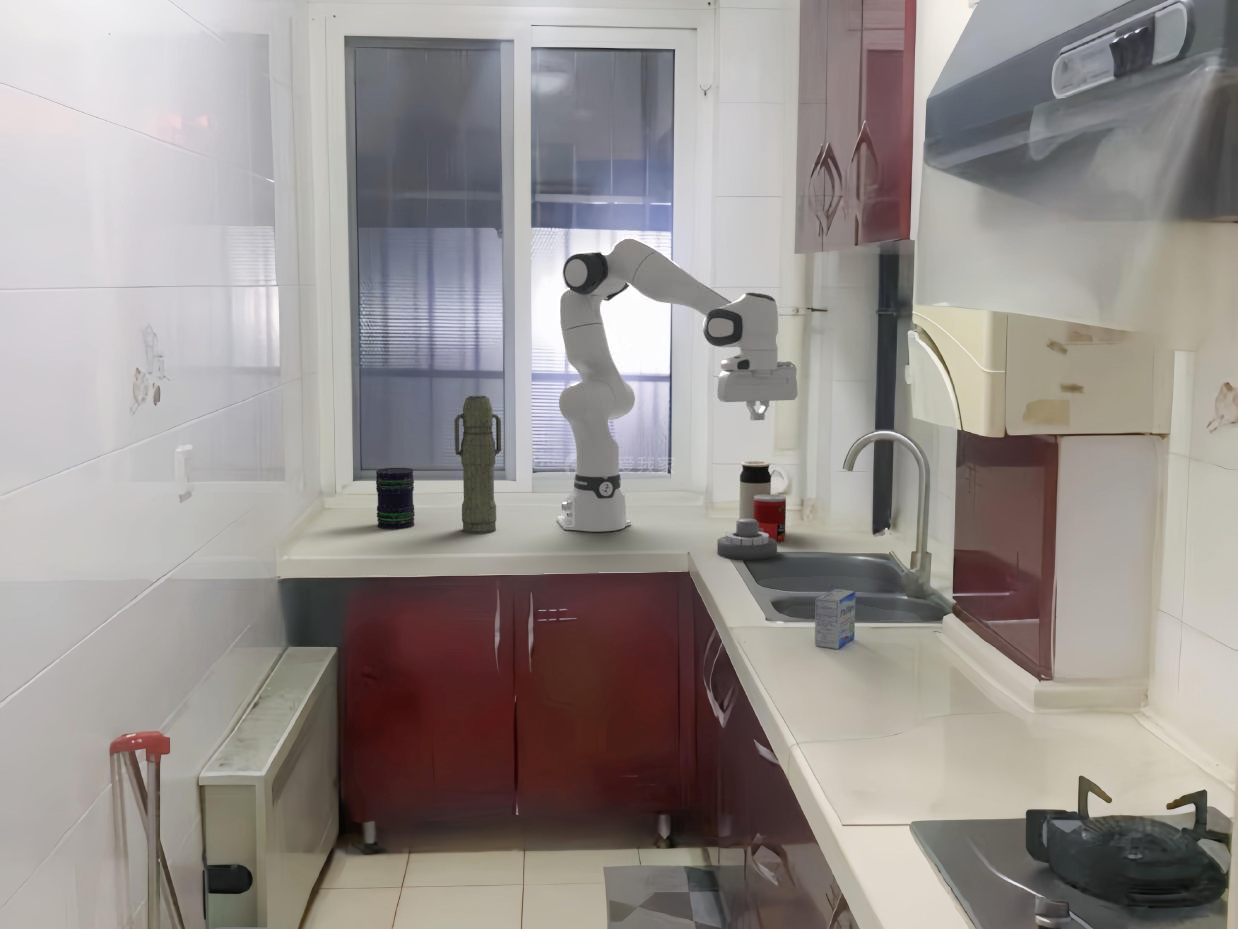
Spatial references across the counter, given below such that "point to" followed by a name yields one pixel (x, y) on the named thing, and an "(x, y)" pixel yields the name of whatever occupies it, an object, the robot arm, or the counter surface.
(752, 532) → the cap
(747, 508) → the travel mug
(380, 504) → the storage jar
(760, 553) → the grey round peg base
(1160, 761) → the counter surface
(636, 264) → the robot arm
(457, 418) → the thermos
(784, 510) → the canned food
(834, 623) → the medicine box
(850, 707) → the counter surface
